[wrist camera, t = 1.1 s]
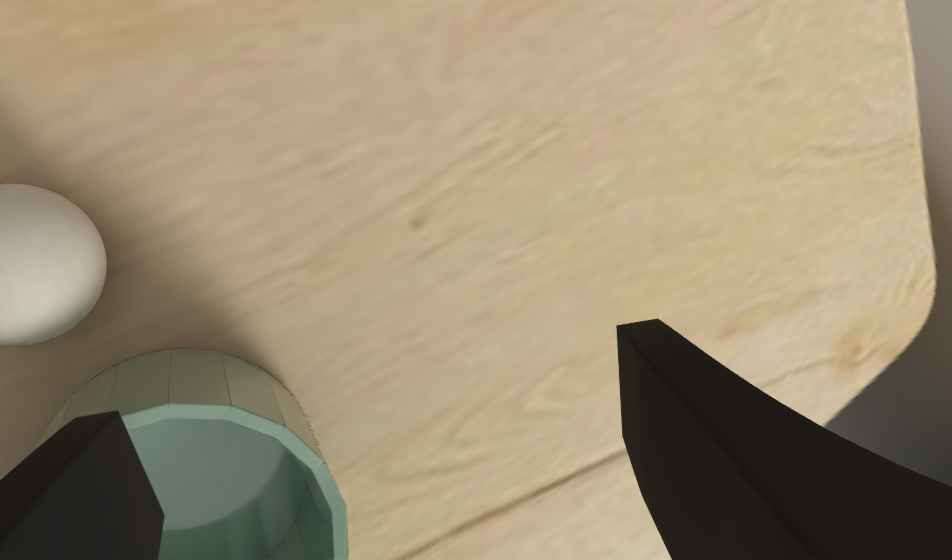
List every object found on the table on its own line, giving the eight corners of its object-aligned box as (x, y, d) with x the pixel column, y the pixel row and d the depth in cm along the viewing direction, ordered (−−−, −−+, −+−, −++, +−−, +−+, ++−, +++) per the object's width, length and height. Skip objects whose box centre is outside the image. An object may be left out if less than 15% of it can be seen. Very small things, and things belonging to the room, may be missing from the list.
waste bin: (342, 545, 26) (379, 638, 21) (77, 640, 23) (51, 771, 19) (284, 316, 24) (310, 362, 19) (-11, 395, 21) (-65, 469, 17)
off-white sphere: (130, 304, 22) (120, 337, 19) (-27, 343, 21) (-70, 386, 17) (88, 165, 21) (69, 171, 18) (-78, 197, 20) (-136, 211, 16)
